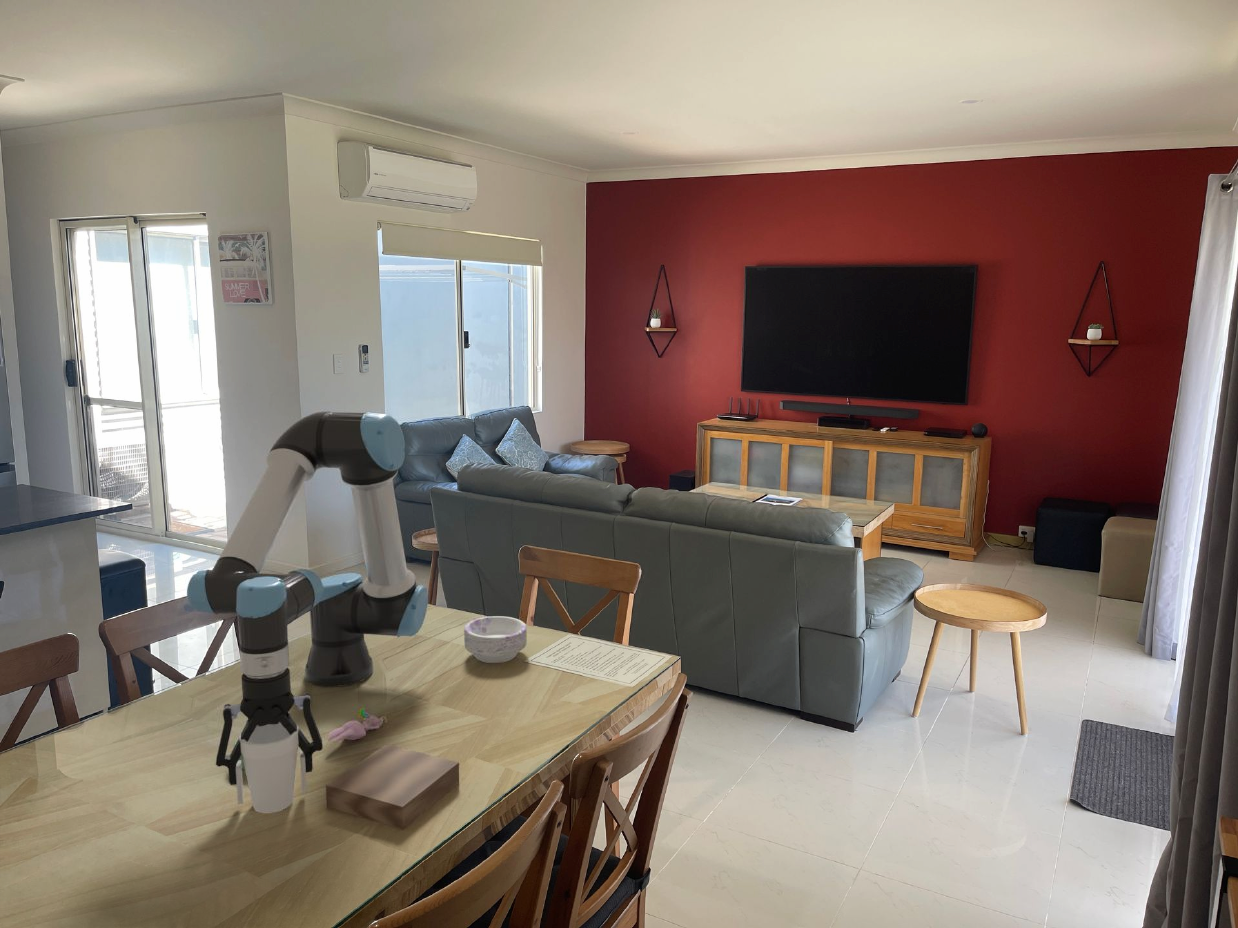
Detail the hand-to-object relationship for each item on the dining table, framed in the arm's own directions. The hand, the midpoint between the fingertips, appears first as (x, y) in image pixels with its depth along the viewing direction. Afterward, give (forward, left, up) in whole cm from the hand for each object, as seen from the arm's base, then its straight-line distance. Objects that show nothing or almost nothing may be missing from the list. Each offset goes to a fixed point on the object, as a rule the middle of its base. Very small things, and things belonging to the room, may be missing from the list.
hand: (272, 794), depth 151 cm
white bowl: (-1, +73, -2) cm, 73 cm away
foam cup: (0, 0, -2) cm, 2 cm away
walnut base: (+17, +11, -2) cm, 20 cm away
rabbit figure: (-3, +25, -2) cm, 25 cm away
